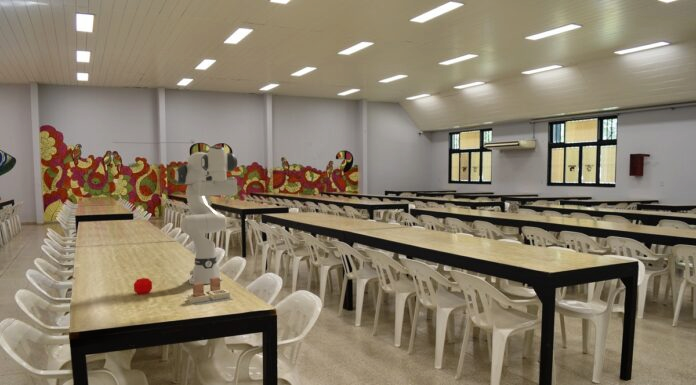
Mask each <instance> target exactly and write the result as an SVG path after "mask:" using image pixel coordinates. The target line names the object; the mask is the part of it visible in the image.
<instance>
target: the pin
mask: <svg viewBox="0 0 696 385" xmlns="http://www.w3.org/2000/svg"><path fill="white" fill-rule="evenodd" d="M204 285H205V284H203V283H202V282H199V283H193V284H192V294H193V297H198V296H204V292H205V290H204V289H205V288H204V287H205V286H204Z"/></svg>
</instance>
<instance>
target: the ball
mask: <svg viewBox="0 0 696 385" xmlns="http://www.w3.org/2000/svg"><path fill="white" fill-rule="evenodd" d="M152 290H153V281H152V280H151V279H150V278H147V277H146V278H145V277H141V278H138V279H136V280H135V282H134V283H133V291H134V292H135V293H136V294H137V295H142V296H143V295H146V294H150V292H151V291H152Z"/></svg>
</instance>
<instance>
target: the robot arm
mask: <svg viewBox="0 0 696 385" xmlns="http://www.w3.org/2000/svg"><path fill="white" fill-rule="evenodd" d="M237 167H238V159H237V157H236V155H235V154H233V152H228V153H226V150H225V148H224V147H223V146H218V145H214V146H210V147H208V151H207V153H206V152H202V151H196V152H194V153H192V154H190V155H189V157H188V159H187V164H184V163H182V164H181V166H178V168H177V169H176V170H175V173H174V178H175V181H176V182H177V184H179V185H188V186H187V187H186V191H185V194H186V195H185V196H186V200H187V204H188V208H189V212H191V214H190V215H186V216H184V217H183V218H182V220H181V222H180V228H181V231H182V232H183V233H184V234H186V235H187V236H189V237H190V239H191V240H192V242H193V245H194V252H195V257H194V266H193V268H192V270H190V271H189V276H191V277H189V278H188V283H189V284H190V285H193V283H199V282H202V283H203V284H204V285H210V278H214V277H219V278H220V281H223V280H224V279H223V277H221V273H220V271H221V269H220V265H218V264H217V263H218V262H217V261H218V259H217V256H216V244H215V242H214V241H213V240H211V239H208V238H207V237H206V236H205V234H211V233H213V234H214V233H219V232H222V231H224V230H226V228H227V225H228V220H227V217H226V216H225V215H224V214H222V213H220V212H218V211H217V210H215V209H213V207H212V204H213V202H212V201H211V200H210V197H213V196H226V197H227V199H225V201H224V202H225V205H229V204H230V200H231V198H232V196H233V195H235V196H236V195H238V193H239V192H238V191H239V190H238V185H237V184H238V179H237V178H236V177H234V176H233V177H232V176H231V177H229V176H227V175H228V174H227V172H229V173H230V172H234V171H235V169H237Z"/></svg>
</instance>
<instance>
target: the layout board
mask: <svg viewBox="0 0 696 385" xmlns="http://www.w3.org/2000/svg"><path fill="white" fill-rule="evenodd" d="M185 299H186V300H187V301H188V302H190V303H191V304H192V305H194V306H202V305H208V304H215V303H221V302H226V301H233V300H234V298H232V297H231V292H230V291H228V290H227V289H220V290H217V291H208V293H207V292H205V291H204V296H198V297H193V293H190V294H187V297H185Z"/></svg>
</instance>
